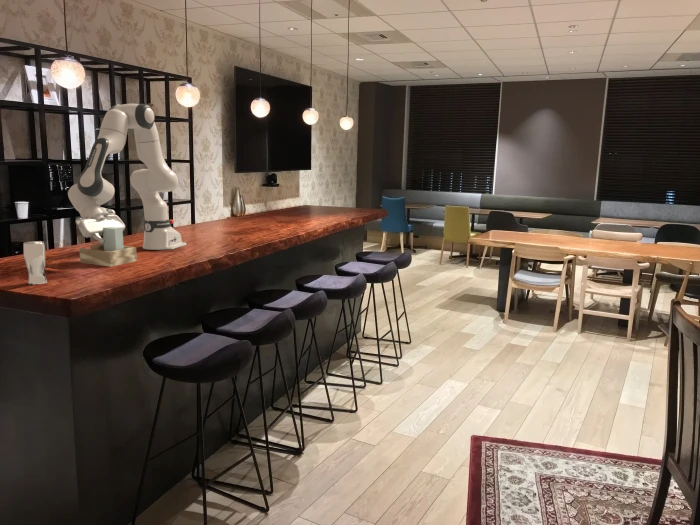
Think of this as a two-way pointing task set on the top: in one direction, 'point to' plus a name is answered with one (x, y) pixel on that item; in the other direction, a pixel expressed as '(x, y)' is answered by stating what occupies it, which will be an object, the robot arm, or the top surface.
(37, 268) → the beer glass
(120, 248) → the pale green block
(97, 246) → the offcut short
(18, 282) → the top surface
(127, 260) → the tray
